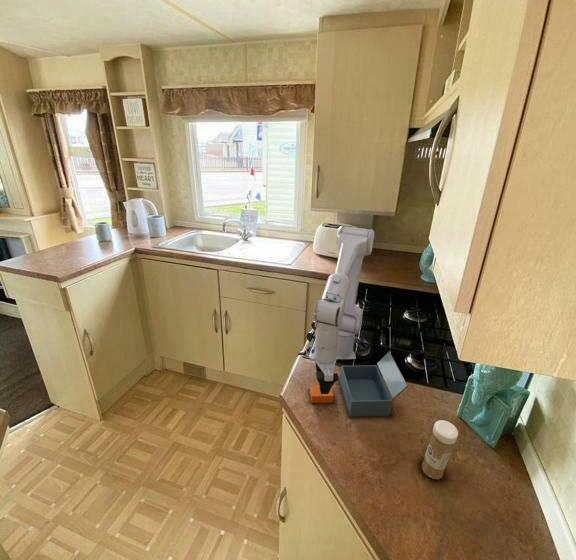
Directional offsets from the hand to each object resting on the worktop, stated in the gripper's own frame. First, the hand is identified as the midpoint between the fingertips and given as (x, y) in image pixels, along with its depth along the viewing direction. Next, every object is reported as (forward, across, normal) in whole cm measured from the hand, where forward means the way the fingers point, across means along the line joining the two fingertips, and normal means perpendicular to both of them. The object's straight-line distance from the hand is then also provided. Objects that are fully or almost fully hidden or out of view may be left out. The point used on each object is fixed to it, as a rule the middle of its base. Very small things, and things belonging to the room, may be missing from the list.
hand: (322, 382), depth 87 cm
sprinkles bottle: (+6, +22, +22) cm, 32 cm away
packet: (+5, 0, 0) cm, 5 cm away
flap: (-3, 0, +19) cm, 19 cm away
